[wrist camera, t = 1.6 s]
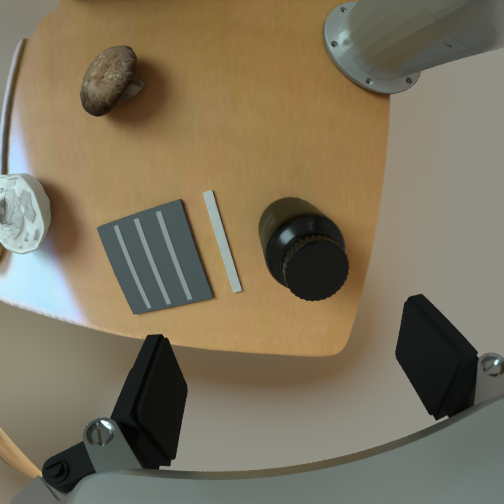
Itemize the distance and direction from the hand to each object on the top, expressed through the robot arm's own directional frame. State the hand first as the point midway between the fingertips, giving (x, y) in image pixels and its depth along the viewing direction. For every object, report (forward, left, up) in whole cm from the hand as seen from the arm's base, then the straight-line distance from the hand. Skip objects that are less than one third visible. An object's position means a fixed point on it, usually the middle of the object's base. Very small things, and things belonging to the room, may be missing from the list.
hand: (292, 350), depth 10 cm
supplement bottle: (-3, +2, -21) cm, 22 cm away
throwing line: (+5, +2, -21) cm, 22 cm away
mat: (+13, +2, -21) cm, 25 cm away
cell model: (+28, -10, -21) cm, 37 cm away
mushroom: (+11, -19, -21) cm, 31 cm away
